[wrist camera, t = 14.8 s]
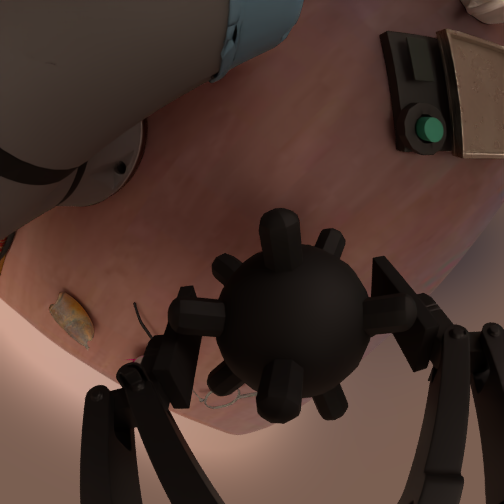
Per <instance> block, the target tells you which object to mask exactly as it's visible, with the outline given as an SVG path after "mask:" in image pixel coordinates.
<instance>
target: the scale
mask: <svg viewBox="0 0 504 504" xmlns="http://www.w3.org/2000/svg"><path fill="white" fill-rule="evenodd" d="M405 37H413V38H419V39H425V40H426V41H427V46H428V50H429V55H430V60H431V65H432V71H433V77H434V82H428V81H418V80H414V78H413V72H412V66H411V61H410V56H409V51H408V46H407V42H406V38H405ZM380 39H381V43H382V48H383V53H384V58H385V63H386V68H387V74H388V80H389V86H390V93H391V100H392V107H393V115H394V125H395V135H396V147H397V150H399V151H403V152H414V153H417V154H421V155H434V154H435V153H436V152H437V151H452V139H451V124H450V112H449V103H448V95H447V88H446V81H445V75H444V69H443V63H442V58H441V53H440V49H439V44H438V40H437V39H436V38H431V37H426V36H420V35H414V34H407V33H400V32H392V31H386V32H384V33H382V34H381V35H380ZM421 117H433V118H437V119H438V120H439V121H440V122H441V124H442V126H443V136H442V138H441V140H439V141H438V142H431V141H426V140H422V139H421V138H420V137H419V136H418V135H417V133H416V122H417V120H418V119H419V118H421Z"/></svg>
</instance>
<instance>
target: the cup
mask: <svg viewBox="0 0 504 504" xmlns="http://www.w3.org/2000/svg"><path fill="white" fill-rule="evenodd" d="M460 1H461V2H462V4H463V5H464V7H465V8H466V11H467V13H468V14H469V15H472V16H474V17H475V18H476V19H478V20H479V21H481V22H483V23H486V24H497V23H502V22H504V0H460Z"/></svg>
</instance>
